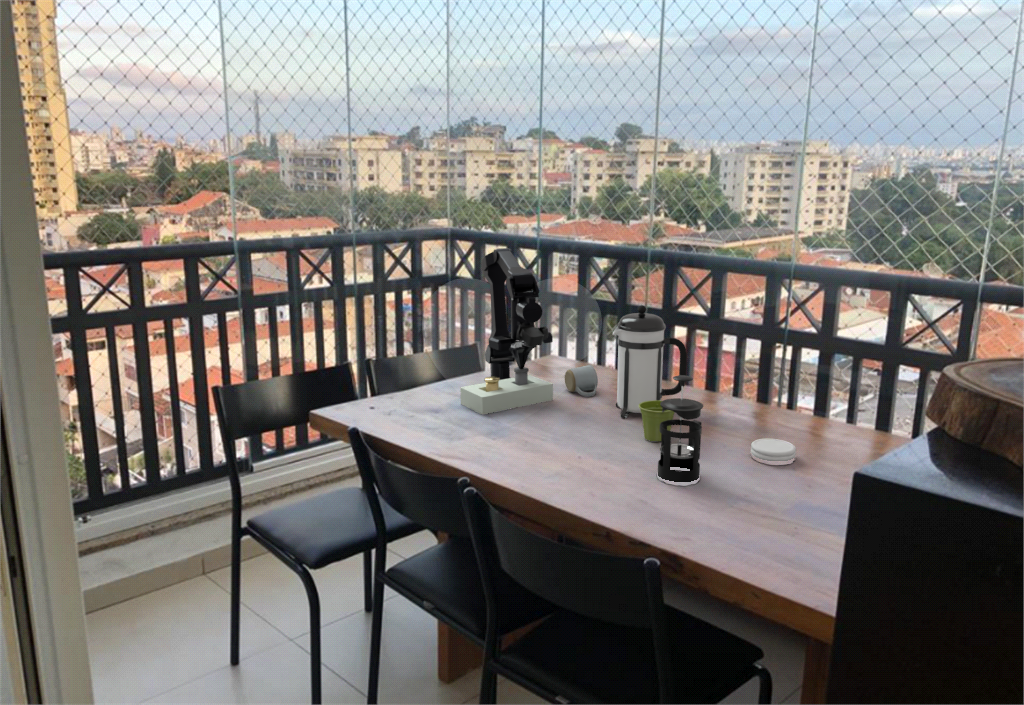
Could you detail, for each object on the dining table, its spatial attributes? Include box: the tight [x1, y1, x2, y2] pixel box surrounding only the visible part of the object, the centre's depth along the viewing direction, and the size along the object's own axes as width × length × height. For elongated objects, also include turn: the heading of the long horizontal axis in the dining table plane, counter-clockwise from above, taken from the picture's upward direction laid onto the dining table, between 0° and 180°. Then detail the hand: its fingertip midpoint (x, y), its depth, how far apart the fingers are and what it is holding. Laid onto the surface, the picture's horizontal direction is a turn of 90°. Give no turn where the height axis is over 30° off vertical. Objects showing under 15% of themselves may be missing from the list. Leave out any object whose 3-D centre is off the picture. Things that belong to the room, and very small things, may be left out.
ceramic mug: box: [564, 364, 599, 398], centre depth 236 cm, size 11×8×8 cm
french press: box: [657, 374, 704, 482], centre depth 171 cm, size 12×9×23 cm
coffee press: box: [612, 304, 688, 419], centre depth 215 cm, size 17×16×30 cm
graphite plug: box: [513, 366, 529, 386], centre depth 230 cm, size 4×4×8 cm
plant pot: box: [639, 400, 676, 442], centre depth 196 cm, size 9×9×9 cm
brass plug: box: [484, 376, 500, 392], centre depth 224 cm, size 4×4×8 cm
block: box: [459, 374, 554, 415], centre depth 228 cm, size 12×24×5 cm, turn 123°
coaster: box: [750, 437, 797, 461], centre depth 184 cm, size 10×10×4 cm
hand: (521, 368), depth 229 cm, fingers closed, pressing on graphite plug
